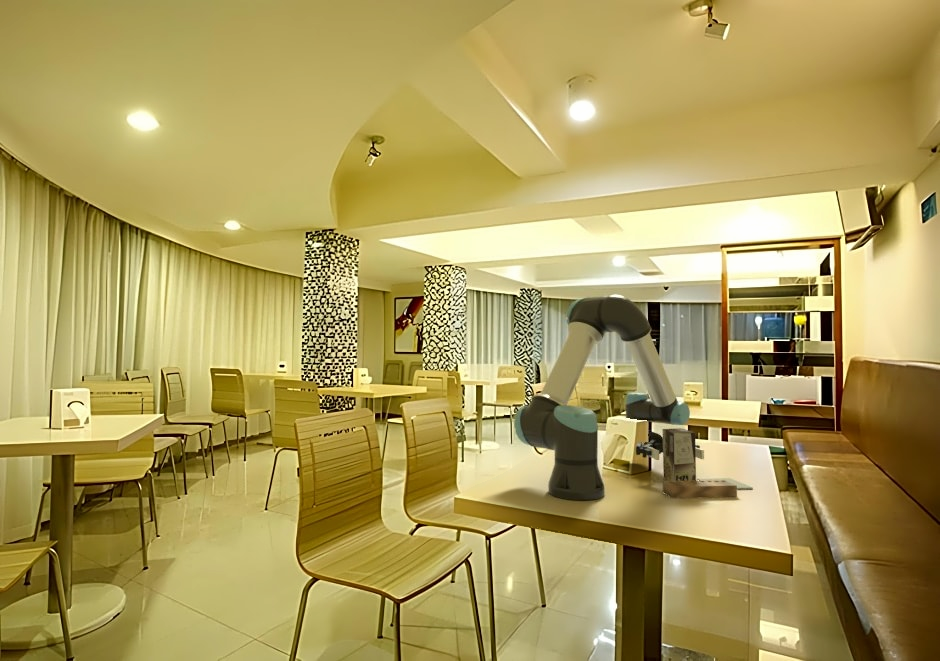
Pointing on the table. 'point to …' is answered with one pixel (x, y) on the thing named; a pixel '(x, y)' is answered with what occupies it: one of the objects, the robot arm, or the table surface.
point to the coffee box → (679, 455)
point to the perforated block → (699, 489)
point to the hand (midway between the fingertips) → (680, 455)
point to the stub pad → (739, 484)
